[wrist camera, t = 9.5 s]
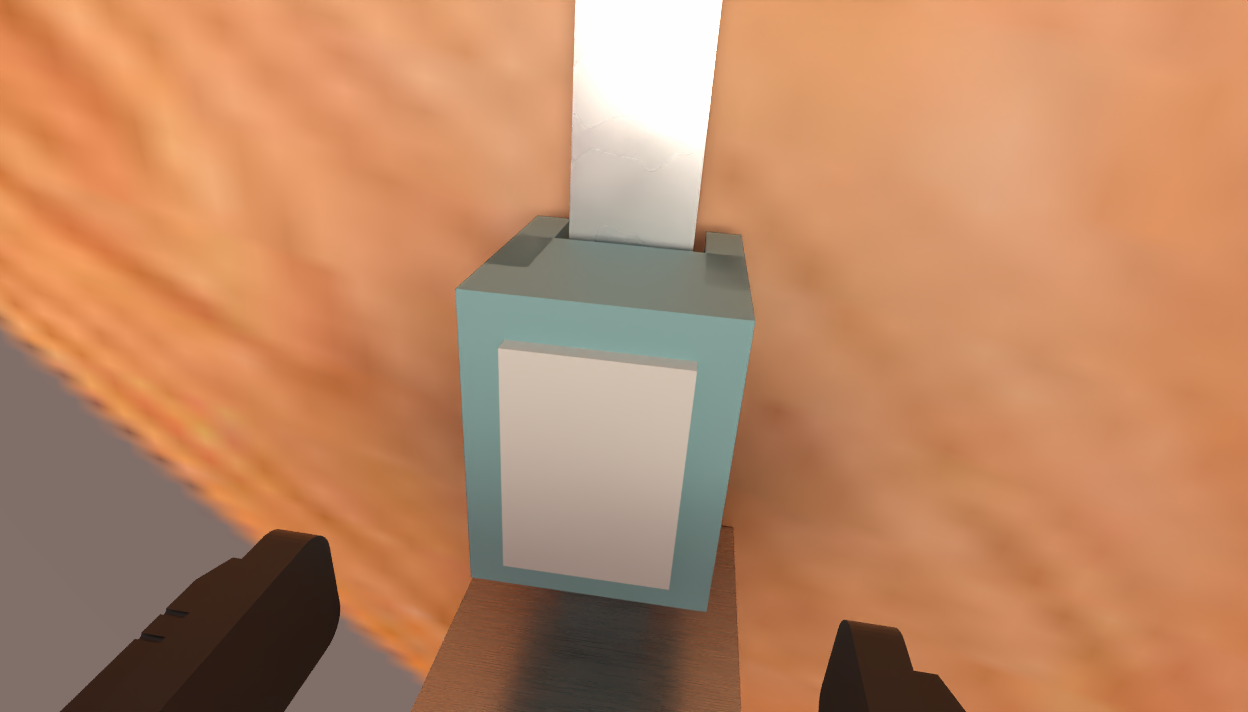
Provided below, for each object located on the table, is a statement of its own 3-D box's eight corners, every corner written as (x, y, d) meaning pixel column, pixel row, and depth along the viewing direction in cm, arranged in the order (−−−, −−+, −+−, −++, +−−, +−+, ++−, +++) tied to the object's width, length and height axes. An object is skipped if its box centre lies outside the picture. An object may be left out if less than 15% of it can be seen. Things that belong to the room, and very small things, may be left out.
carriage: (741, 235, 16) (756, 329, 11) (708, 458, 19) (706, 626, 14) (537, 215, 17) (446, 296, 11) (536, 436, 20) (464, 590, 14)
